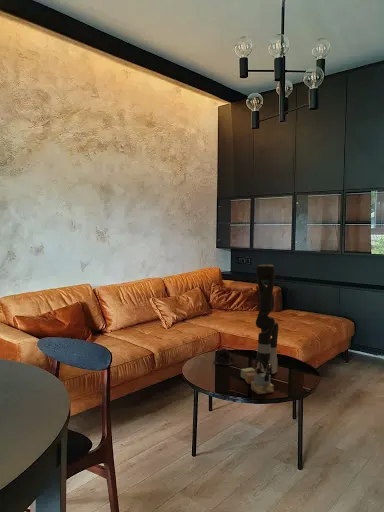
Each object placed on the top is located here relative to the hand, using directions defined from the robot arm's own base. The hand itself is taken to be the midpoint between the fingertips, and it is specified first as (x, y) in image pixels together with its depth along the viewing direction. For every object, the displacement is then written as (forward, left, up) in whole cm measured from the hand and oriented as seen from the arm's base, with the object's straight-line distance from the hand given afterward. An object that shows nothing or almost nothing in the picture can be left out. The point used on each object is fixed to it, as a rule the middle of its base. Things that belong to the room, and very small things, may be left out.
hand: (262, 378), depth 224 cm
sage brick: (-2, -21, -7) cm, 22 cm away
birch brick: (0, 0, -7) cm, 7 cm away
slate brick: (0, 0, -3) cm, 3 cm away
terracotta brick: (-2, -13, -7) cm, 15 cm away
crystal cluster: (0, -50, -7) cm, 50 cm away
